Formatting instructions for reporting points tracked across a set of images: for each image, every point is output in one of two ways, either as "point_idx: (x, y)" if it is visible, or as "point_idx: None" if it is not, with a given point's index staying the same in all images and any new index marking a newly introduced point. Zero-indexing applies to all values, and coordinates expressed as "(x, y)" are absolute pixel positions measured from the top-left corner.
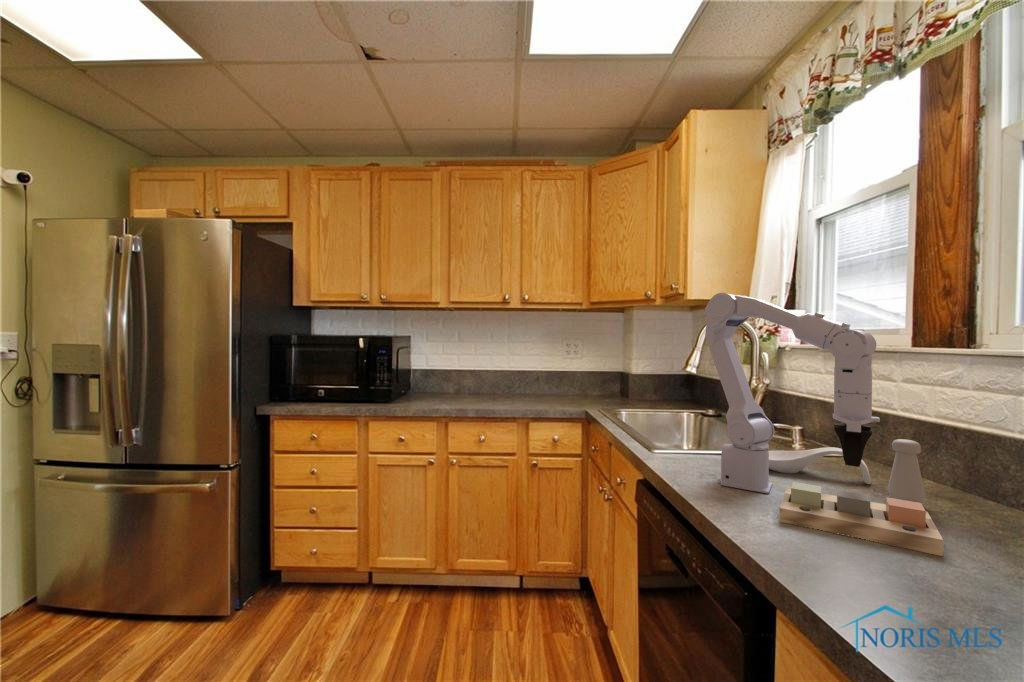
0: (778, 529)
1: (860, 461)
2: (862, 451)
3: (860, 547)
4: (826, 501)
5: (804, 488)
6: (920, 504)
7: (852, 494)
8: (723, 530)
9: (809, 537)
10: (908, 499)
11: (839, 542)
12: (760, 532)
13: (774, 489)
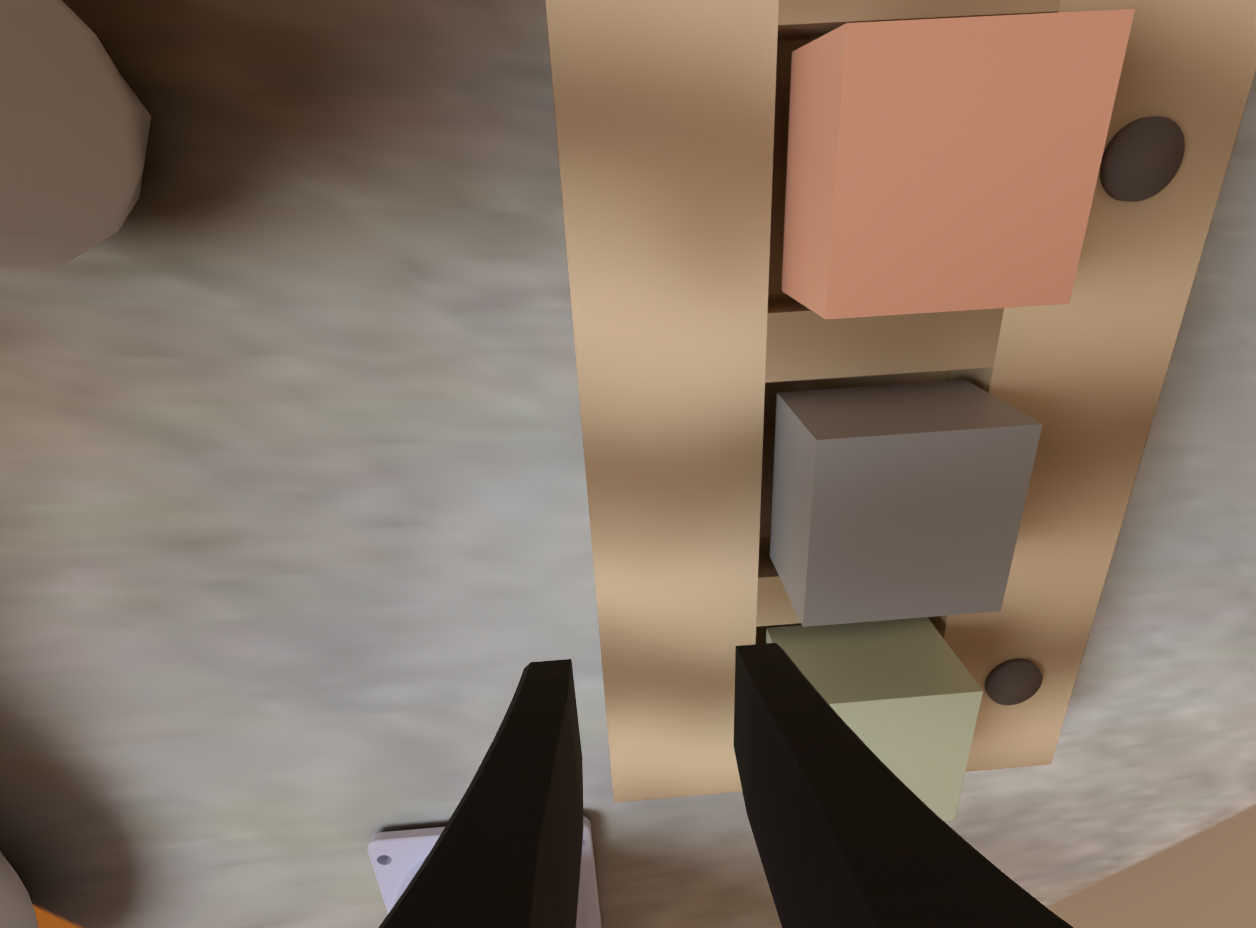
0: (1112, 692)
1: (808, 683)
2: (909, 797)
3: (1209, 393)
4: (778, 613)
5: (916, 770)
6: (909, 34)
7: (895, 536)
8: (1215, 823)
9: (1162, 586)
10: (128, 102)
11: (1176, 477)
12: (1182, 734)
13: (454, 805)
